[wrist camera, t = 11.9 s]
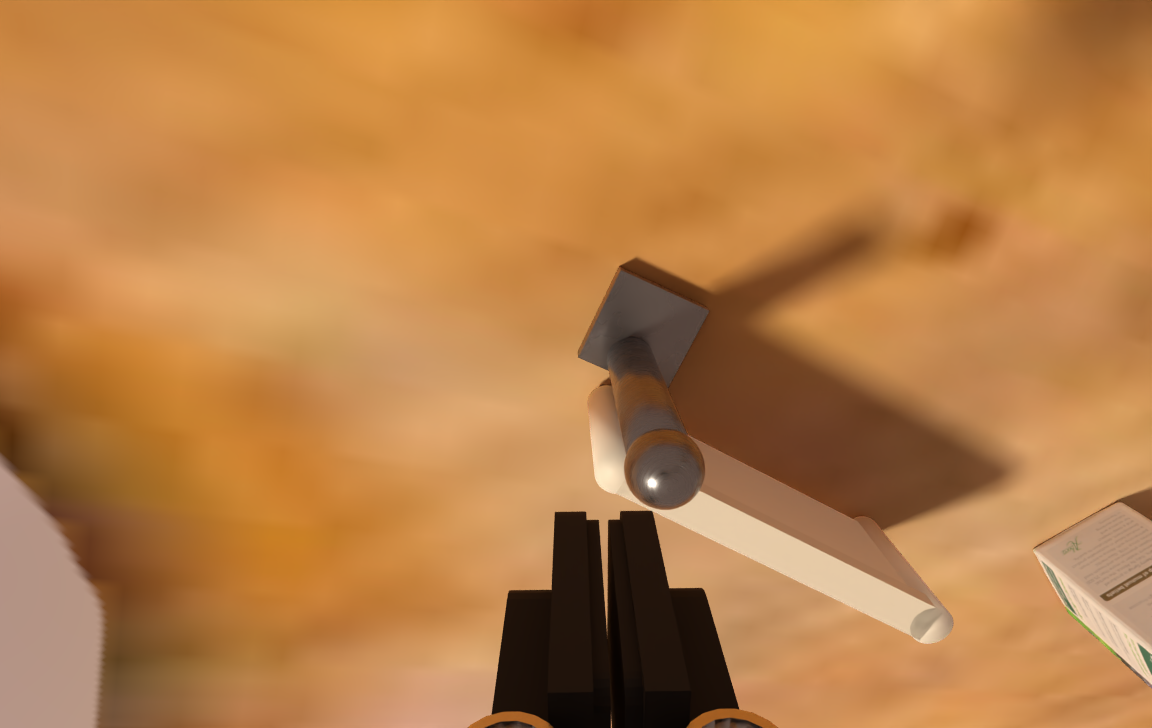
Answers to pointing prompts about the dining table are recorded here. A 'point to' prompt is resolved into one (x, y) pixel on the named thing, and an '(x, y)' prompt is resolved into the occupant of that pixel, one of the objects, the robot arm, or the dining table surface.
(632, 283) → the gate post
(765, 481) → the gate leaf
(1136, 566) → the syrup box
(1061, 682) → the dining table surface
